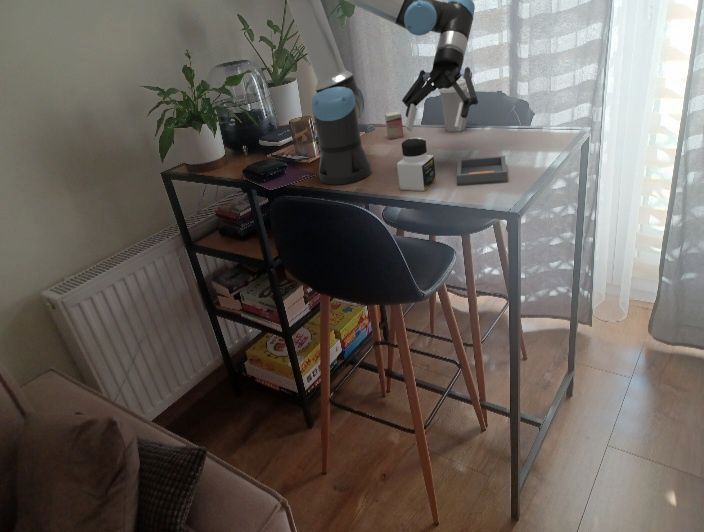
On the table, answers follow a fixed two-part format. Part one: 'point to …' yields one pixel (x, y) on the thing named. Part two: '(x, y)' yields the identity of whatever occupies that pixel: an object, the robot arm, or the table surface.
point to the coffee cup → (452, 105)
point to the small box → (394, 125)
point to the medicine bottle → (416, 166)
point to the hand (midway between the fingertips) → (432, 129)
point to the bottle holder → (481, 170)
